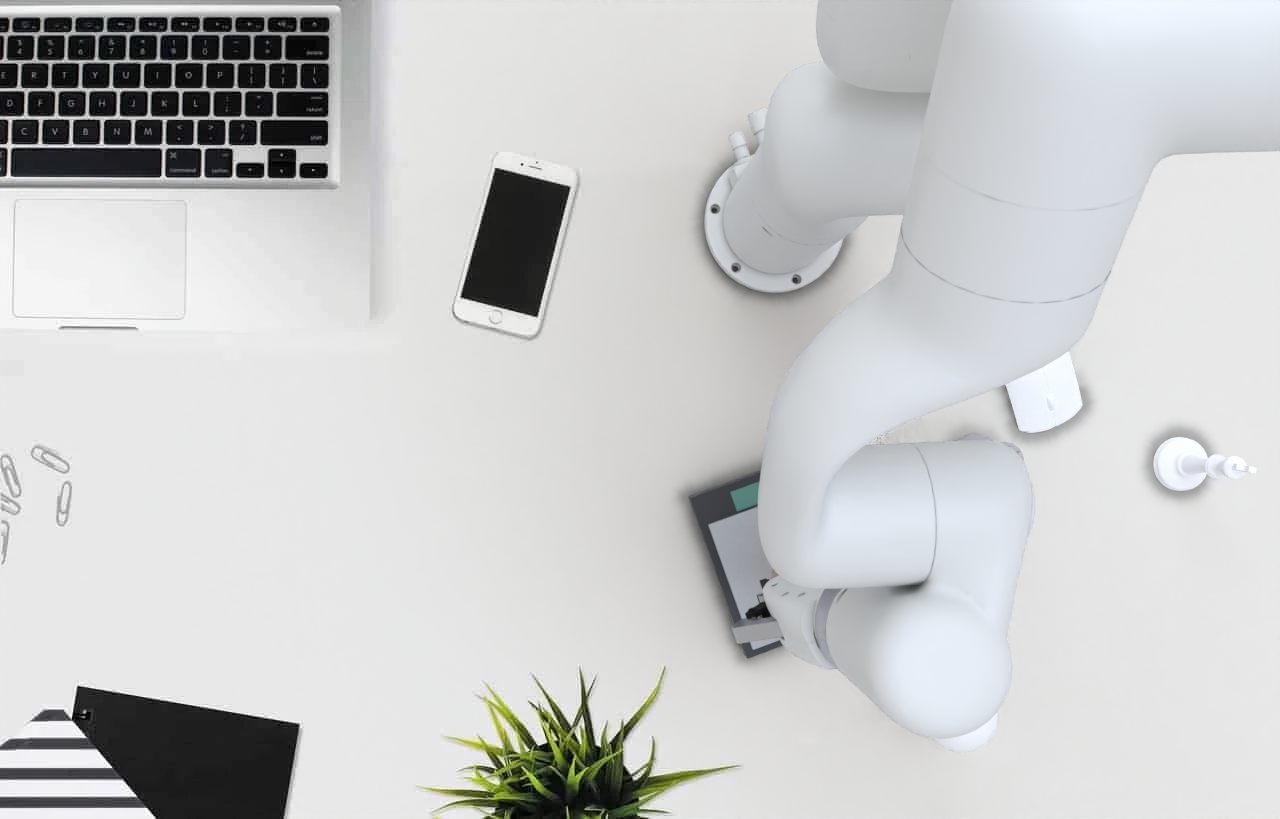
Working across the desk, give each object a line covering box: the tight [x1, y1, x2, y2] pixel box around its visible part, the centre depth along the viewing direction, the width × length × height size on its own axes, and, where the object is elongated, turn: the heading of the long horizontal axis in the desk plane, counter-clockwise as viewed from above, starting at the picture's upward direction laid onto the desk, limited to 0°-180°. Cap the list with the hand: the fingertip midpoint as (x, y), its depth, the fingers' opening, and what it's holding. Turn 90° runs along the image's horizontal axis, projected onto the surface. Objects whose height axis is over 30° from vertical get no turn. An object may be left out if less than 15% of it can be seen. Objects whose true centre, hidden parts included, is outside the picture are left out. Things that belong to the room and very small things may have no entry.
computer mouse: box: [1004, 350, 1084, 434], centre depth 90 cm, size 7×12×2 cm, turn 23°
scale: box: [688, 470, 784, 659], centre depth 88 cm, size 15×13×2 cm
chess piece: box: [1152, 436, 1257, 492], centre depth 87 cm, size 5×5×10 cm
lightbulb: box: [931, 711, 1000, 753], centre depth 85 cm, size 6×6×11 cm
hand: (813, 581), depth 79 cm, fingers closed on bowl, 6 cm apart
